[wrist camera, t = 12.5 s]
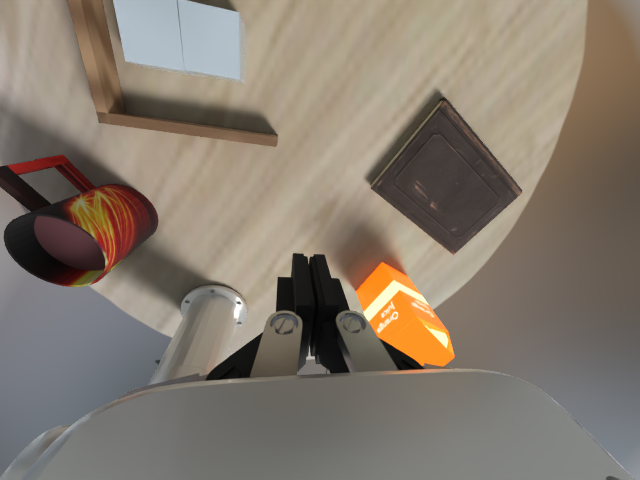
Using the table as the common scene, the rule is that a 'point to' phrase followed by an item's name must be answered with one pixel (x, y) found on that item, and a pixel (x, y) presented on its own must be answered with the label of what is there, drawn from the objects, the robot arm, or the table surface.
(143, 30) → the tile
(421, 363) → the orange juice
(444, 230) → the hardcover book
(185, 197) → the table surface
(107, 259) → the mug
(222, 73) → the tile
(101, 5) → the frame
